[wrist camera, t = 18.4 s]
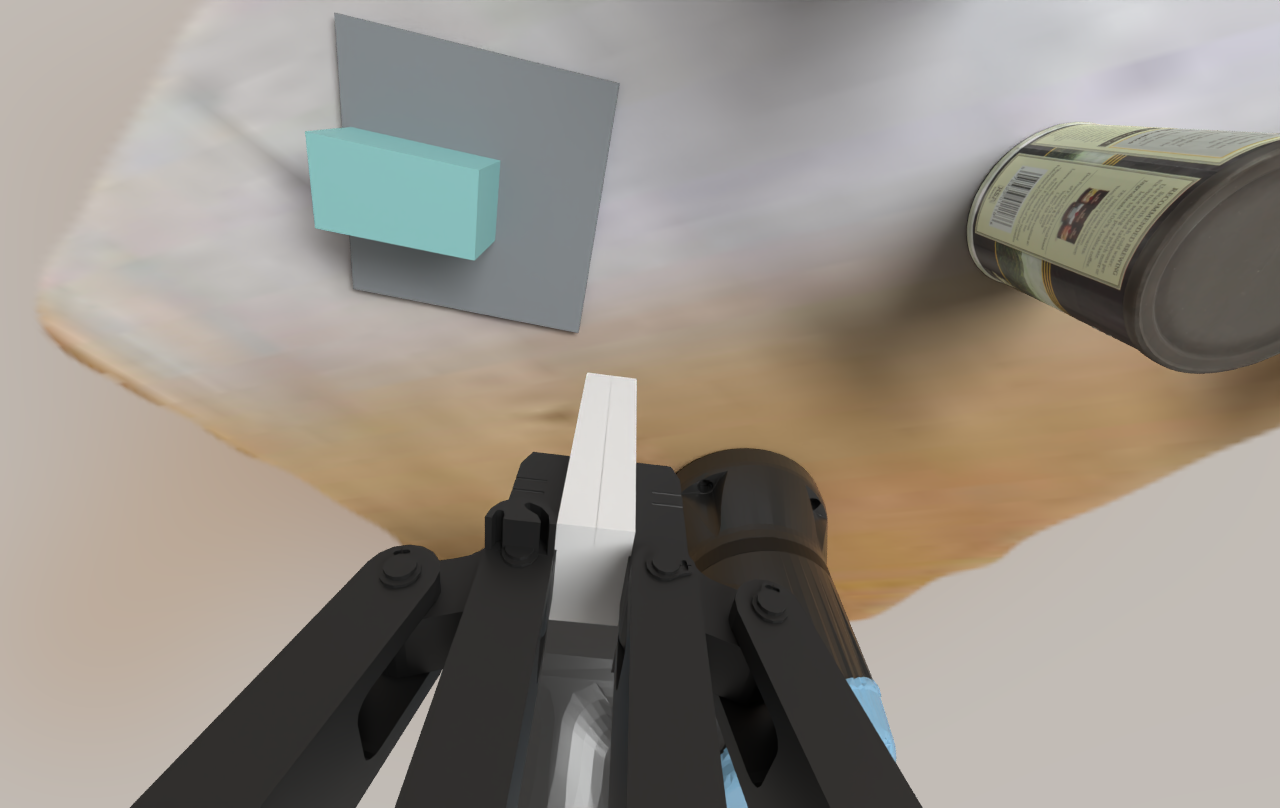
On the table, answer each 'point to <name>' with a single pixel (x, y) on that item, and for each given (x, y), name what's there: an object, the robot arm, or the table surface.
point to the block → (403, 191)
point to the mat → (494, 128)
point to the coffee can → (1143, 237)
